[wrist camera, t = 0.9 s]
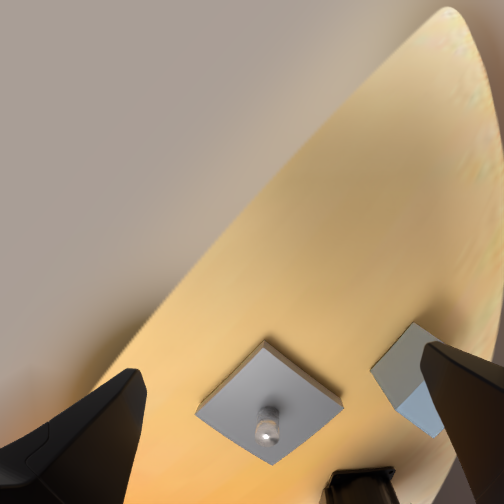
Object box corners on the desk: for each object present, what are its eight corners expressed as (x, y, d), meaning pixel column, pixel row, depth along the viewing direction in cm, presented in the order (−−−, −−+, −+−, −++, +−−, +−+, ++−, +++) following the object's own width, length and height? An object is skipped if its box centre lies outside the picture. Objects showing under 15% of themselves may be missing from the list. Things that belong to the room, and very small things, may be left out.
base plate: (340, 398, 21) (352, 430, 17) (272, 454, 22) (271, 489, 17) (264, 339, 21) (260, 365, 17) (198, 405, 22) (184, 436, 18)
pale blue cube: (445, 355, 20) (483, 384, 14) (405, 399, 21) (433, 438, 15) (413, 322, 20) (451, 348, 14) (369, 370, 21) (395, 409, 15)
